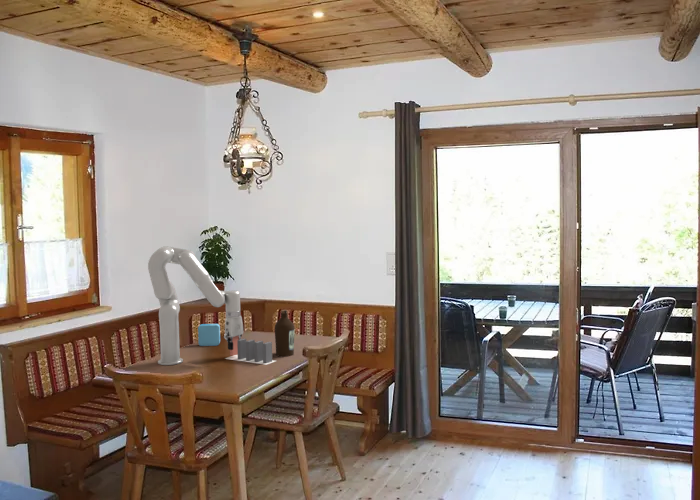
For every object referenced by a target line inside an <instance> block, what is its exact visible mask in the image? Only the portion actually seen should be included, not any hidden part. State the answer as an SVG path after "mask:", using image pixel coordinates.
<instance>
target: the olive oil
mask: <svg viewBox="0 0 700 500" xmlns="http://www.w3.org/2000/svg"><path fill="white" fill-rule="evenodd" d="M280 316H281V317H280V319H279V318H278V320H277V321H276V323H275V325H274V341H275V342H274V343H275V355H276V356H277V357H291V356H294V355H295V325H294V322H292V320H290V318H289V317H288V310H287V309H281V310H280Z"/></svg>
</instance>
